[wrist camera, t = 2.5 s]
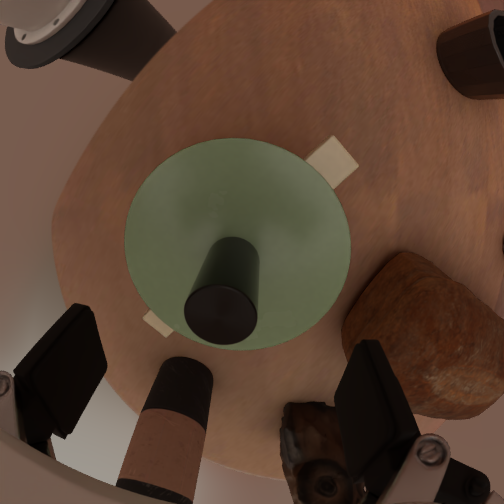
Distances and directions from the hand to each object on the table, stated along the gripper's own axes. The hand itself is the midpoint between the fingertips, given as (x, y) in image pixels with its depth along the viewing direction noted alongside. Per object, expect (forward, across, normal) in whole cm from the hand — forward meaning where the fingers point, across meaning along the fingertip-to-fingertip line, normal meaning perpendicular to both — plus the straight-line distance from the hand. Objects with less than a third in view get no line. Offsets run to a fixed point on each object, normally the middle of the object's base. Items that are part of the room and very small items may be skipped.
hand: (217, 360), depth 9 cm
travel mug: (+18, +6, +22) cm, 29 cm away
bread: (+18, -24, +11) cm, 32 cm away
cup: (+18, -21, -21) cm, 35 cm away
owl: (+18, -12, +31) cm, 38 cm away
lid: (+8, 0, 0) cm, 8 cm away
